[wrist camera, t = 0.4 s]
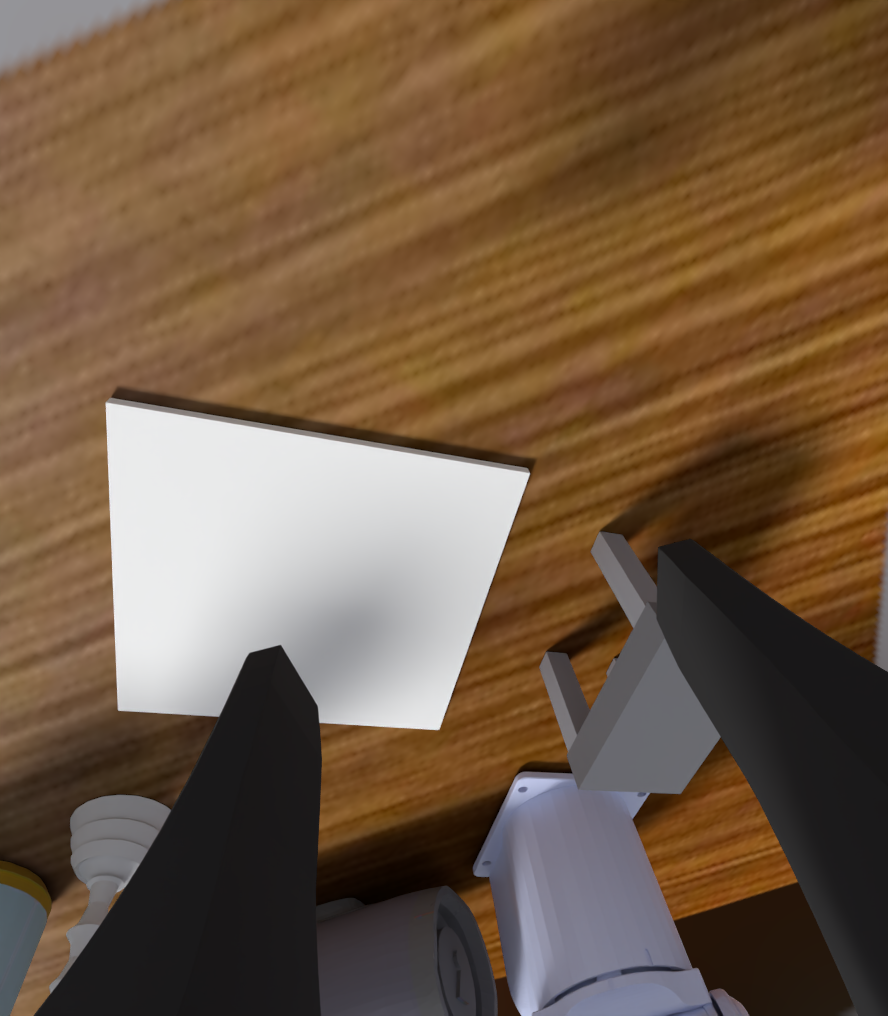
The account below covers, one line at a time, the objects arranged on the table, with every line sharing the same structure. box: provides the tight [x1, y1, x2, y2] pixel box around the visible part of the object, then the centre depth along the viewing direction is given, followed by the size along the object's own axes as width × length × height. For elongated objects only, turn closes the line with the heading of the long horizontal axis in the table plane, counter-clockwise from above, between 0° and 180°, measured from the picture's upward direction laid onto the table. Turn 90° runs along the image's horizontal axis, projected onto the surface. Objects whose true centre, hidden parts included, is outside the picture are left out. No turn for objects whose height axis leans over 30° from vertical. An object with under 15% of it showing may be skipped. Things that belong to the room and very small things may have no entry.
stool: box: [539, 531, 721, 794], centre depth 24 cm, size 8×4×6 cm, turn 166°
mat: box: [106, 398, 530, 730], centre depth 24 cm, size 14×14×1 cm
